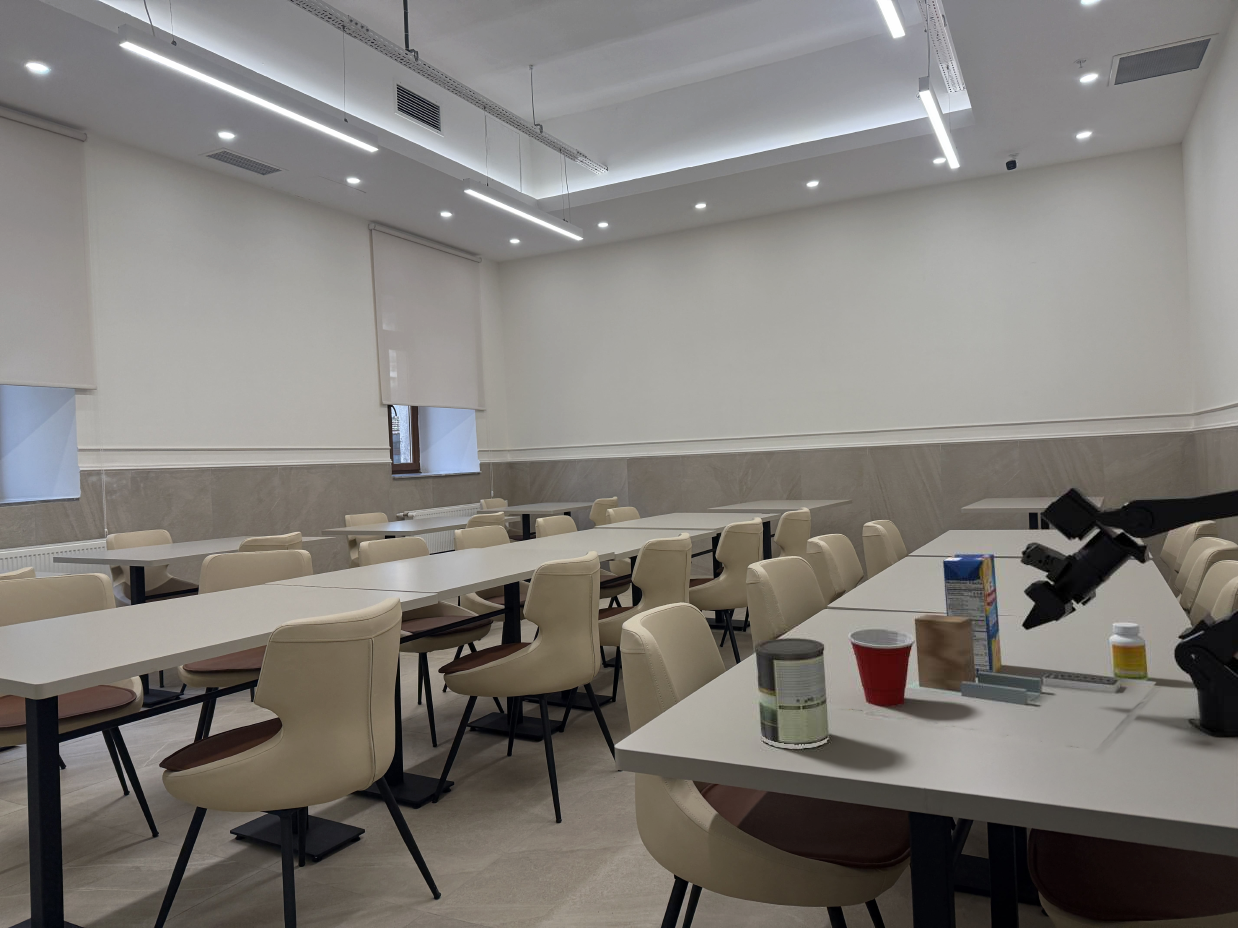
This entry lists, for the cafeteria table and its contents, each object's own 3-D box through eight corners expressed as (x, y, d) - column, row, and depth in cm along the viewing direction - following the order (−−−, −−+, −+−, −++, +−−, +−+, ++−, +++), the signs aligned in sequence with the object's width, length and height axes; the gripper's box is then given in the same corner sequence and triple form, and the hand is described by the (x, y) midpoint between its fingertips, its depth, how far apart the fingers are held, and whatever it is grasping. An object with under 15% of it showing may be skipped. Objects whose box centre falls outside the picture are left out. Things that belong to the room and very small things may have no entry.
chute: (1042, 696, 133) (1041, 678, 133) (1025, 709, 127) (1024, 690, 127) (925, 680, 147) (924, 664, 147) (904, 692, 141) (903, 675, 141)
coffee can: (748, 742, 119) (742, 648, 120) (780, 723, 127) (775, 635, 128) (811, 754, 113) (804, 655, 113) (841, 733, 121) (835, 641, 121)
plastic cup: (876, 719, 127) (871, 643, 127) (840, 702, 137) (835, 632, 137) (934, 709, 130) (929, 636, 130) (894, 693, 140) (890, 625, 140)
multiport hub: (1116, 699, 130) (1115, 685, 131) (1042, 691, 138) (1041, 677, 138) (1121, 693, 134) (1120, 679, 134) (1049, 685, 141) (1048, 672, 141)
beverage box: (951, 678, 148) (942, 560, 148) (964, 665, 157) (956, 554, 157) (990, 682, 144) (982, 560, 144) (1001, 668, 153) (993, 554, 153)
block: (976, 686, 139) (971, 617, 139) (965, 692, 135) (960, 622, 136) (930, 680, 144) (926, 614, 145) (919, 686, 141) (914, 618, 141)
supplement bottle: (1153, 683, 137) (1149, 626, 137) (1119, 683, 138) (1115, 627, 139) (1140, 675, 143) (1135, 621, 143) (1107, 675, 144) (1103, 621, 144)
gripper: (1069, 521, 134) (1004, 583, 142) (1034, 530, 121) (965, 599, 128) (1126, 569, 129) (1056, 631, 136) (1096, 584, 115) (1021, 653, 123)
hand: (1024, 627), depth 131 cm, fingers closed
